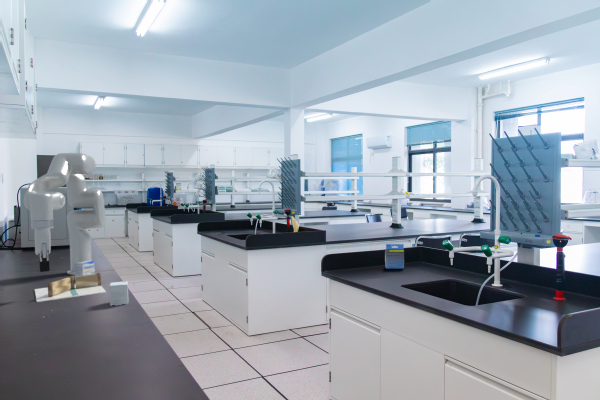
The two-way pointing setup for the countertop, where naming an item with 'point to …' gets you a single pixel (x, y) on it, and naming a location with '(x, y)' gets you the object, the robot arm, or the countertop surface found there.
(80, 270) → the medicine box
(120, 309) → the countertop surface
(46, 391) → the countertop surface
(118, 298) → the product box
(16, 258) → the countertop surface
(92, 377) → the countertop surface
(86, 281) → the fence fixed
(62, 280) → the fence panel
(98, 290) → the card
